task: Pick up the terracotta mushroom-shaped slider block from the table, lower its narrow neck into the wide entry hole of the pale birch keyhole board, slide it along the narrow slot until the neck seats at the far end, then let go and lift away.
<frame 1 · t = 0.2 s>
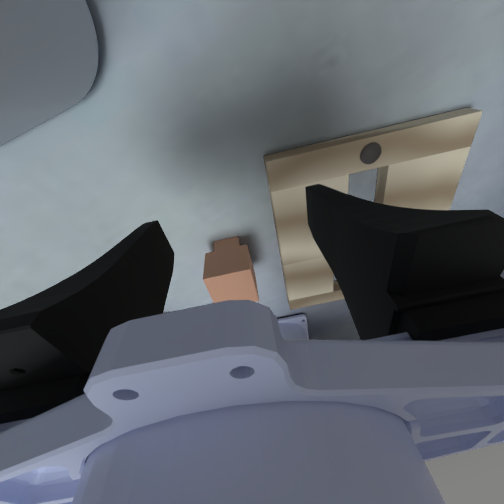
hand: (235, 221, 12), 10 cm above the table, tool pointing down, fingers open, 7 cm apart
keyhole board: (355, 227, 25), on the table
slider block: (231, 254, 25), on the table
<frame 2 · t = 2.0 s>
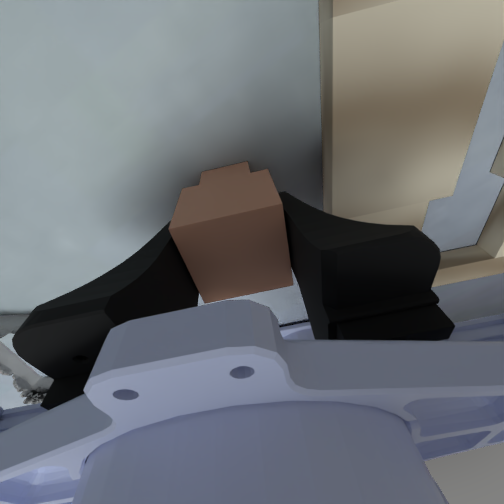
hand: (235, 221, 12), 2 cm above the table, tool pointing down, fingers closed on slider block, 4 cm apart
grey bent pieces: (91, 339, 21), on the table
keyhole board: (471, 148, 13), on the table
slider block: (234, 201, 14), on the table, touching gripper
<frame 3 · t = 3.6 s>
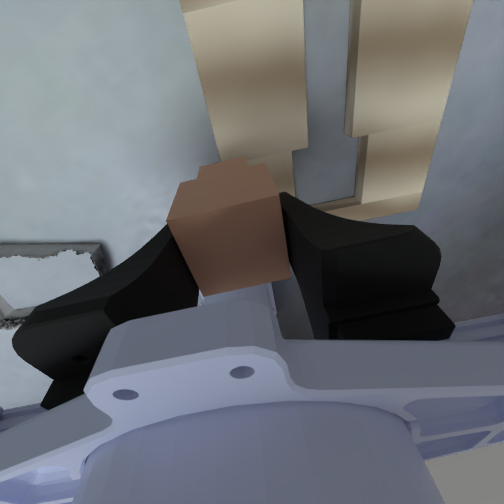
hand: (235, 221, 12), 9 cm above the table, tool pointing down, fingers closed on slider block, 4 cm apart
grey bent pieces: (54, 274, 25), on the table
keyhole board: (323, 113, 18), on the table
slider block: (232, 196, 14), point 7 cm above the table, touching gripper
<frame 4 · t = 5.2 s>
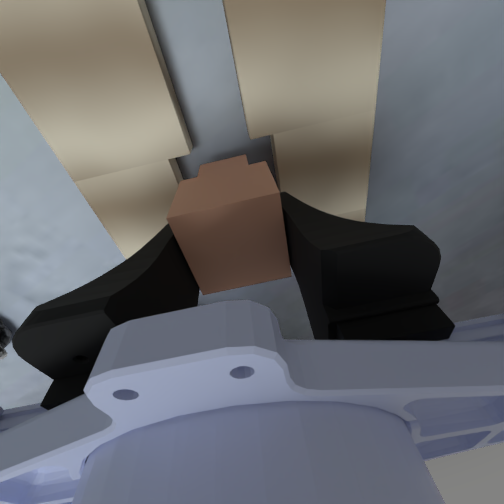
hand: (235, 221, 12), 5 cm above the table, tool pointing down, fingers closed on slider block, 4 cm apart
keyhole board: (211, 105, 13), on the table
slider block: (232, 195, 14), point 2 cm above the table, touching gripper
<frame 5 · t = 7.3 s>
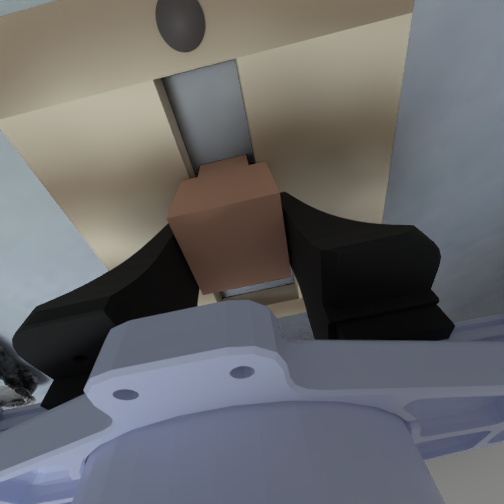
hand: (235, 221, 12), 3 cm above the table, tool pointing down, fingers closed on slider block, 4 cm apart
keyhole board: (235, 206, 14), on the table
slider block: (232, 195, 14), resting in keyhole board, touching gripper
when the fingers open (2 cm above the table, at t = 8.6 s): slider block stays where it is, resting in keyhole board.
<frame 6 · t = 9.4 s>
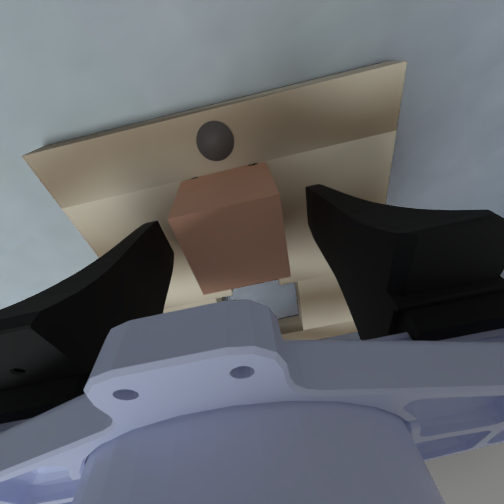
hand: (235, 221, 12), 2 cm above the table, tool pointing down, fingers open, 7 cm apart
keyhole board: (249, 256, 17), on the table
slider block: (232, 196, 14), resting in keyhole board
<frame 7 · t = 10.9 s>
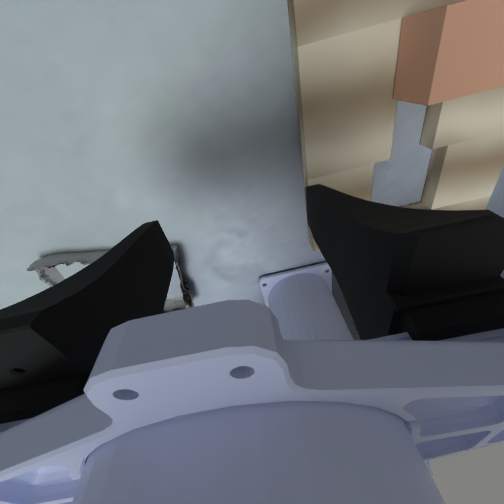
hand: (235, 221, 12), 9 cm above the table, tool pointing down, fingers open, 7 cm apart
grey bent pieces: (130, 278, 26), on the table
keyhole board: (403, 126, 19), on the table
slider block: (413, 53, 16), resting in keyhole board
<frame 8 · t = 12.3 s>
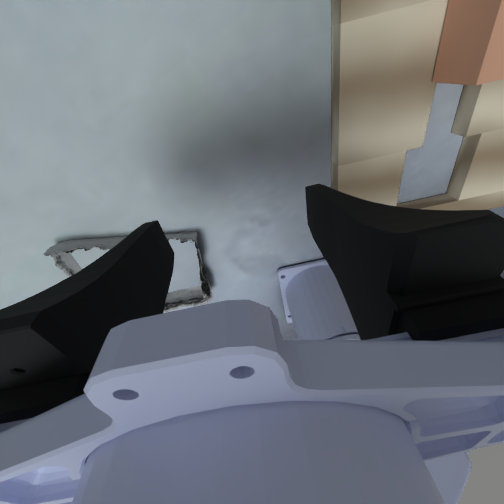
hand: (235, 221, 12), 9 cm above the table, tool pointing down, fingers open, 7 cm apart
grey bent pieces: (146, 266, 26), on the table
keyhole board: (436, 113, 19), on the table
slider block: (453, 36, 16), resting in keyhole board
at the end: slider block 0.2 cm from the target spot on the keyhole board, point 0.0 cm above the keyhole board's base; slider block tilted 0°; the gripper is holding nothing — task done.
